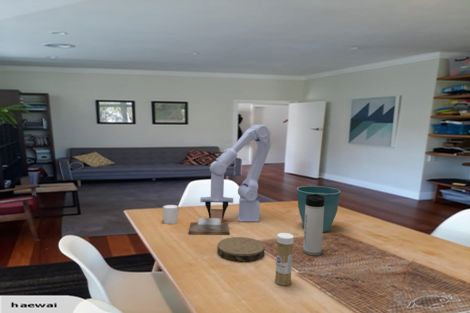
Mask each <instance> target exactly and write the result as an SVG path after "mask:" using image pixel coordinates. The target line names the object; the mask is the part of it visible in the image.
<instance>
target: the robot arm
mask: <svg viewBox="0 0 470 313" xmlns="http://www.w3.org/2000/svg"><path fill="white" fill-rule="evenodd" d="M251 141H252V142H253V141H255V143H256V145H257V148H256V151H255V154H254V157H253V160H252V162H251V165H250V167H249V170H248V173H247V176H246V178H245V179H244V180H242V183H241V184H240V185H239V186H238V190H237V194H238V196H239V201H238V202H239V203H238V206H239V207H238V215H237V221H238V222H257V223H258V222H259V223H260V215H261V214H260V213H261V211H260V210H261V208H260V207H261V206H260V205H261V203H260V200H256V199H257V198H258V190H259V183H258V182H259V179H260V176H261V173H262V171H263V168H264V165H265V162H266V160H267V158H268V154H269V151H270V150H271V130H270V128H269V127H268V126H267V125H266V124H252V125H250V127H249V128H247V129H246V130H245V132H244V133H243V134H242V135H241V136H240V137H239V139H238V140H237V141H236V143H235V144H234V145H233V146H232V147H230V148H229V147H228V148H226V149H224V150H223V151H222V153H221V155H220V156H219V157H216V159H215V161H213V162H211V164H210V166H209V171H210V173H211V175H210V176H211V177H210V196H205V197H204V196H201V197H200V200H199V202H200V203H204V204H205V208H206V211H207V213H208V218H211V209H212V208H211V206H212V203H222V208H221V209H222V220H224V217H225V214H226V211H227V209H228V207H229V204H234V197H227V196H225V197H224V192H225V191H224V189H225V187H224V186H225V173H226V172H227V168H228V167H229V166H231V164H232V163H233V162H234V161H235V160H236V159H237V156H238V153H239V152H240V151H241V150H242V149H243V148H244V147H245V146H246V145H247V144H248V143H249V142H251Z"/></svg>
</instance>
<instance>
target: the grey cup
mask: <svg viewBox="0 0 470 313" xmlns="http://www.w3.org/2000/svg"><path fill="white" fill-rule="evenodd" d="M162 215H163V223H164V224H166V225H174V224H177V222H178V217H179V205H176V204H165V205H163V206H162Z"/></svg>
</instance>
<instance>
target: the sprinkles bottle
mask: <svg viewBox="0 0 470 313" xmlns="http://www.w3.org/2000/svg"><path fill="white" fill-rule="evenodd" d="M294 238H295V237H294V235H293V234H292V233H286V232H280V233H279V232H278V233H277V236H276V244H277V245H276V259H275V276H274V282H275V283H276V284H278V285H280V286H288V285H289V286H290V284H291V283H292V270H293V269H292V268H293V248H294V247H293V245H294V241H295V240H294Z"/></svg>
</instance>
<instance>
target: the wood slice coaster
mask: <svg viewBox="0 0 470 313" xmlns="http://www.w3.org/2000/svg"><path fill="white" fill-rule="evenodd" d="M216 252H217V255H218V256H219V257H220V258H221V259H223V260H226V261H230V262H233V263H253V262H256V261H260V260H261V259H263V258H264V257H265V244H264V243H263V242H261V241H260V240H259V239H255V238H251V237H245V236H244V237H243V236H242V237H241V236H234V237H227V238H224V239H222V240H221V239H220V240H219V241H218V243H217V251H216Z"/></svg>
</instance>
